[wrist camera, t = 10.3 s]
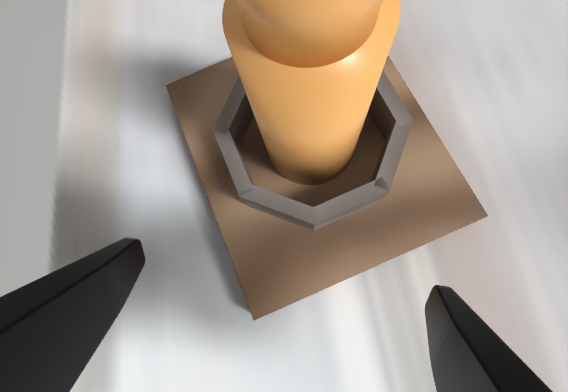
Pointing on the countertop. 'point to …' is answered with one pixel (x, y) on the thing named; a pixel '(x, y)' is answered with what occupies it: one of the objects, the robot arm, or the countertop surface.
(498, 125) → the countertop surface
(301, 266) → the peg board base
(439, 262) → the countertop surface
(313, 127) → the wooden peg doll
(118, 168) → the countertop surface
